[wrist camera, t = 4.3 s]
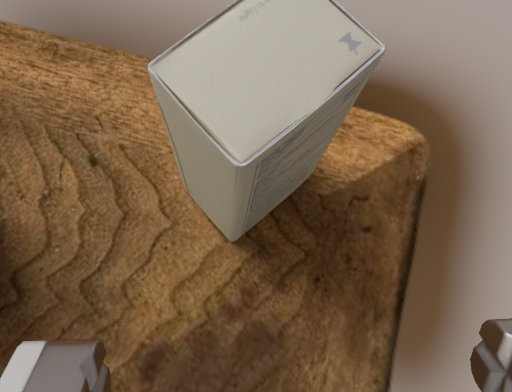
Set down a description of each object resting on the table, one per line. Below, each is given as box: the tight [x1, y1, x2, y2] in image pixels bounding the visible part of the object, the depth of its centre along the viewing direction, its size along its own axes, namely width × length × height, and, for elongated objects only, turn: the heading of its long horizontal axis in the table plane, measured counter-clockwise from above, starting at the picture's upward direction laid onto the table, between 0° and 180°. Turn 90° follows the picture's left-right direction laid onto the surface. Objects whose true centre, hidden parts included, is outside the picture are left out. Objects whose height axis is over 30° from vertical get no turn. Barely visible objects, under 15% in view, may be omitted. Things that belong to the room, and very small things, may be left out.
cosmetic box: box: [148, 0, 386, 242], centre depth 18 cm, size 6×4×12 cm
